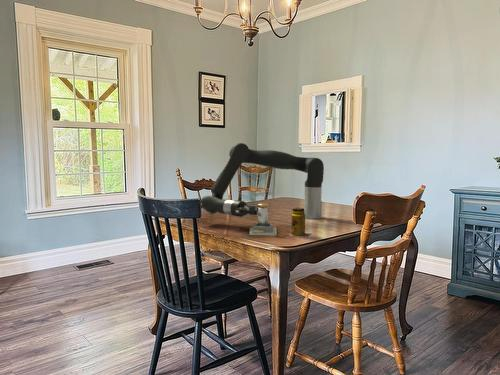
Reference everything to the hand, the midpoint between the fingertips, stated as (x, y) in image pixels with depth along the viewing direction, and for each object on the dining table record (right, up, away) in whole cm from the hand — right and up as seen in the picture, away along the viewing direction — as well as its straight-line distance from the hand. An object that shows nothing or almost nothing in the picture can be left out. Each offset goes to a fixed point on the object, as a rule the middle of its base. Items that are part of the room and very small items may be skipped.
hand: (262, 211), depth 173 cm
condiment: (+16, -10, -3) cm, 20 cm away
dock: (0, -10, +1) cm, 10 cm away
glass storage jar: (0, -9, +1) cm, 9 cm away
